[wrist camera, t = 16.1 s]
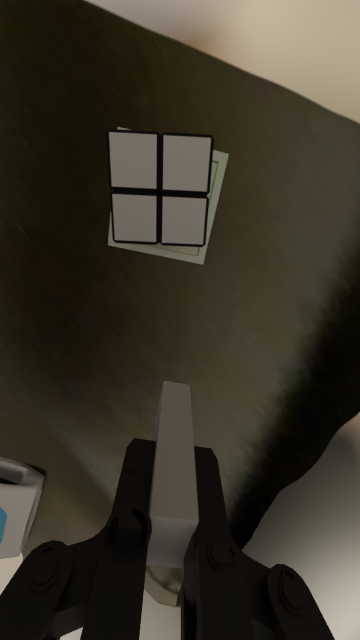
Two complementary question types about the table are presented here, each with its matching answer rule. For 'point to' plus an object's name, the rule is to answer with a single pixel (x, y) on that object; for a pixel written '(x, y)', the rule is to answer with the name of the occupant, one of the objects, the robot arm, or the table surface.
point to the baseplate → (199, 252)
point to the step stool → (17, 505)
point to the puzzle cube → (159, 187)
